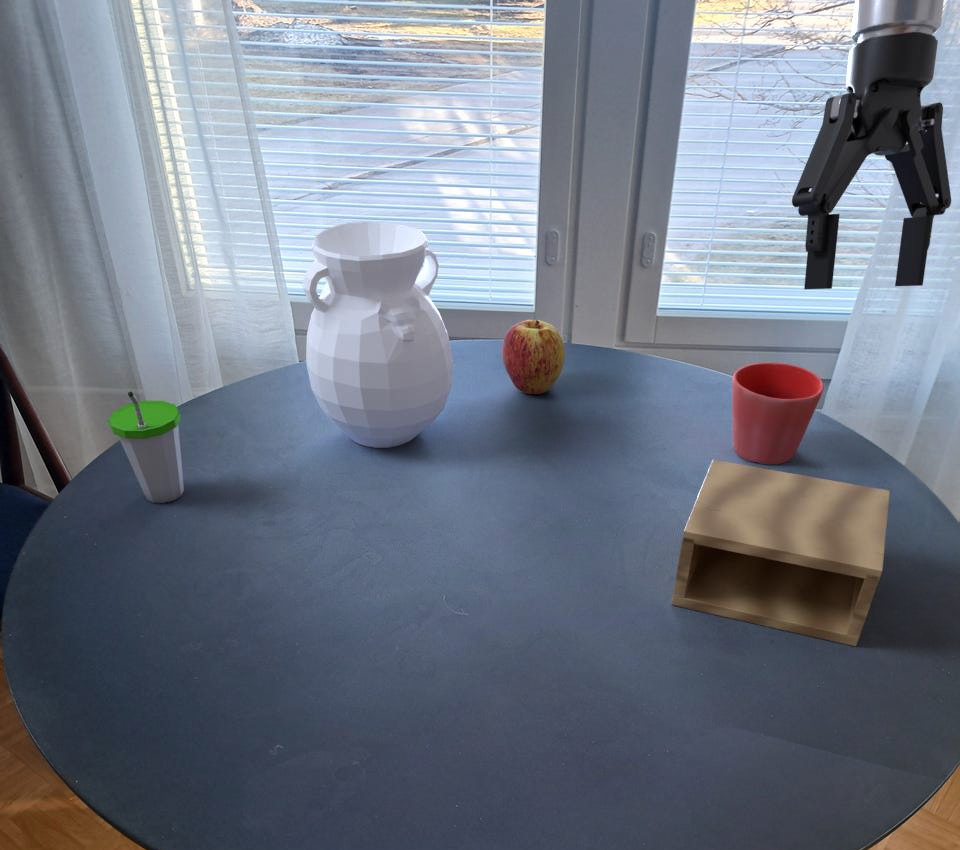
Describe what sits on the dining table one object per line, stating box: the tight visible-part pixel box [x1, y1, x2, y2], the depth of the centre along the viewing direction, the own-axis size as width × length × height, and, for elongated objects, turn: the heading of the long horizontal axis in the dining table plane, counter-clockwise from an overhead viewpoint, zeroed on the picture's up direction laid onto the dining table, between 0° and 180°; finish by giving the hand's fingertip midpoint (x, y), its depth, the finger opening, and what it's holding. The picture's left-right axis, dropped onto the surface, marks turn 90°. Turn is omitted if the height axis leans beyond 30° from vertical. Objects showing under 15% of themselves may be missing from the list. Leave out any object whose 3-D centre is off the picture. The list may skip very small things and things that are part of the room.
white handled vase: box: [302, 221, 454, 449], centre depth 113 cm, size 19×18×25 cm
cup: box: [107, 391, 185, 504], centre depth 104 cm, size 8×8×15 cm
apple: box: [501, 319, 566, 395], centre depth 128 cm, size 9×9×10 cm
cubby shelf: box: [671, 459, 891, 647], centre depth 92 cm, size 18×15×9 cm
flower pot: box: [731, 361, 825, 465], centre depth 114 cm, size 11×11×10 cm
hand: (864, 288), depth 90 cm, fingers open, 13 cm apart
